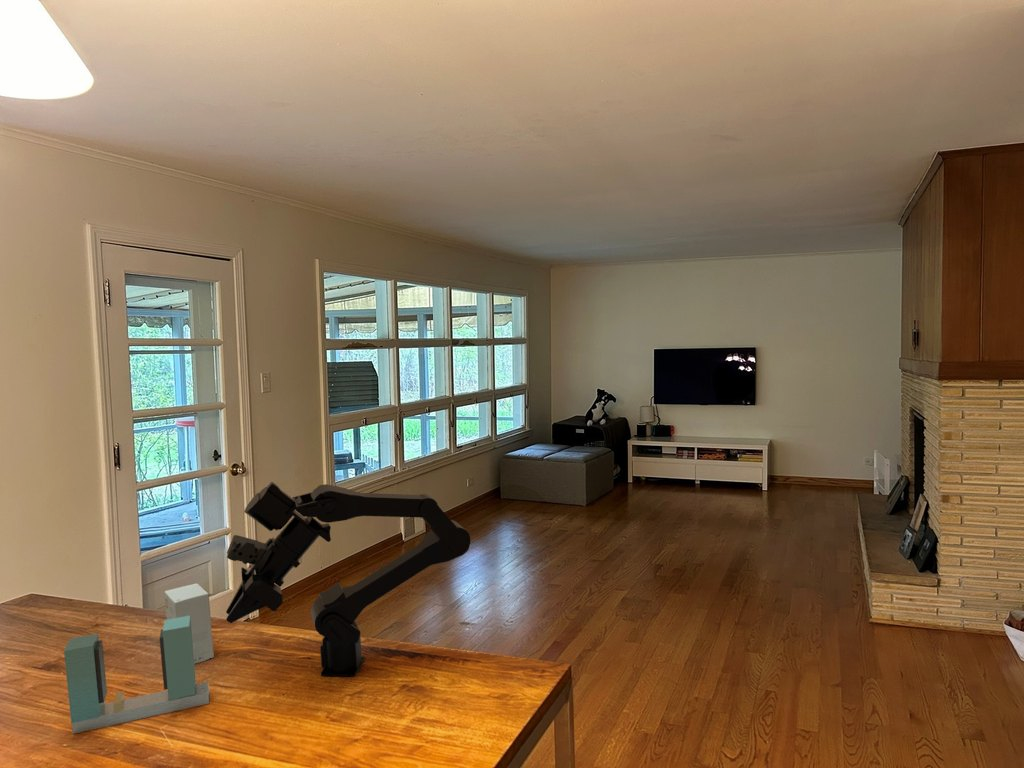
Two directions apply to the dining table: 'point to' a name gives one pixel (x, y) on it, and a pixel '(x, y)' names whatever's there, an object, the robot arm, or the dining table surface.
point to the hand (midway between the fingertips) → (228, 617)
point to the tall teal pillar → (178, 657)
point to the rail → (91, 691)
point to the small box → (193, 616)
